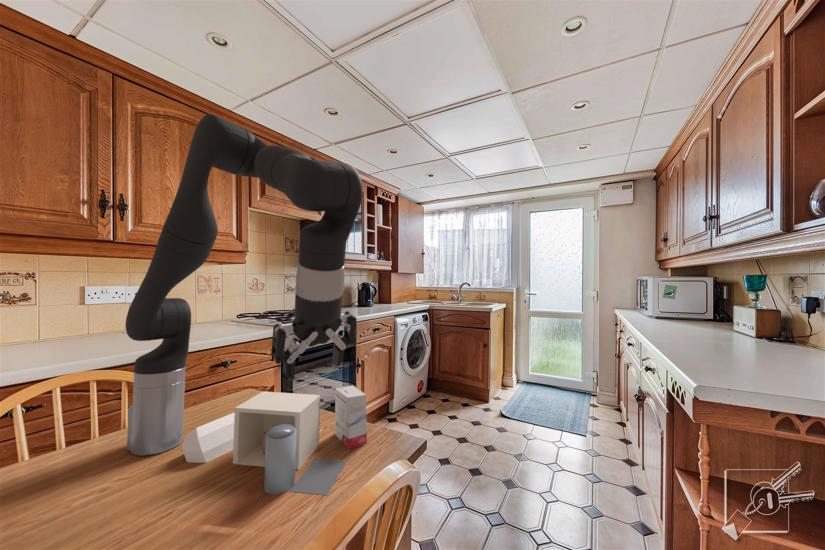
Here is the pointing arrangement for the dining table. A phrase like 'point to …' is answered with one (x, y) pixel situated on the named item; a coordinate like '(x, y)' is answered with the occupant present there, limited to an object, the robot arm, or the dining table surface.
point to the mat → (319, 477)
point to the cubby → (272, 412)
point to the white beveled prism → (210, 440)
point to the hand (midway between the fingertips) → (314, 370)
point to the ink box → (350, 416)
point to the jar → (280, 459)
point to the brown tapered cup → (264, 442)
